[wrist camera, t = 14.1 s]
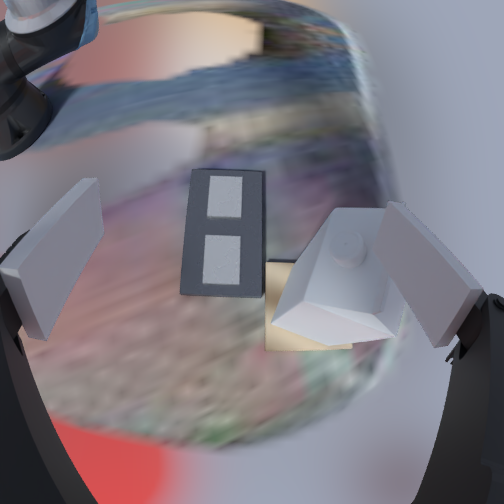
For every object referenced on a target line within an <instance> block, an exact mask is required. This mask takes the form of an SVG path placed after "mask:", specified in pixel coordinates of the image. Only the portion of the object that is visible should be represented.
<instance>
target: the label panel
mask: <svg viewBox="0 0 504 504" xmlns="http://www.w3.org/2000/svg"><path fill="white" fill-rule="evenodd" d="M180 294H181V295H190V296H213V297H241V298H261V297H262V172H254V171H234V170H203V169H192V174H191V181H190V189H189V198H188V206H187V215H186V225H185V235H184V246H183V257H182V269H181V282H180Z"/></svg>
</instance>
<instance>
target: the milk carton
mask: <svg viewBox="0 0 504 504" xmlns="http://www.w3.org/2000/svg"><path fill="white" fill-rule="evenodd" d="M402 204H403V205H404V206H405V204H406V203H405V202H402ZM385 209H386V208H335V209H334V210H333V211H332V212H331V214H330V215H329V216H328V218H327V219H326V221H325V222H324V224H323V225H322V226H321V228H320V229H319V231H318V232H317V233H316V235H315V236H314V238H313V239H312V240H311V242H310V243H309V245H308V246H307V247H306V249H305V250H304V252H303V253H302V254H301V256H300V257H299V258H298V260H297V261H296V263H295V264H294V265H293V267H292V269H291V271H290V274H289V276H288V279H287V282H286V284H285V287H284V290H283V292H282V295H281V297H280V300H279V303H278V305H277V308H276V310H275V313H274V315H273V318H272V321H271V324H272V325H275V326H277V327H280V328H282V329H285V330H287V331H290V332H293V333H295V334H298V335H300V336H303V337H306V338H308V339H311V340H314V341H316V342H319V343H322V344H325V345H327V346H332V345H340V344H349V343H357V342H364V341H371V340H378V339H385V338H391V337H396V336H397V333H398V329H399V325H400V321H401V317H402V313H403V309H404V305H405V301H406V300H405V298H404V297H403V295H402V294H401V292H400V291H399V289H398V287H397V286H396V284H395V283H394V281H393V280H392V278H391V277H390V275H389V274H388V272H387V271H386V269H385V268H384V266H383V265H382V263H381V262H380V260H379V259H378V257H377V256H376V255H375V253H374V252H373V250H372V248H373V245H374V243H375V240H376V237H377V234H378V231H379V228H380V225H381V222H382V219H383V216H384V213H385Z"/></svg>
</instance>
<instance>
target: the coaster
mask: <svg viewBox="0 0 504 504" xmlns="http://www.w3.org/2000/svg"><path fill="white" fill-rule="evenodd" d="M294 264H295V263H275V262H266V264H265V351H310V350H335V349H352V343H349V344H340V345H332V346H327V345H325V344H322V343H319V342H316V341H314V340H311V339H308V338H306V337H303V336H300V335H298V334H295V333H293V332H290V331H287V330H285V329H282V328H280V327H277V326H275V325H272V324H271V321H272V318H273V315H274V313H275V310H276V308H277V305H278V303H279V300H280V297H281V295H282V292H283V290H284V287H285V284H286V282H287V279H288V276H289V274H290V271H291V269H292V267H293V265H294Z"/></svg>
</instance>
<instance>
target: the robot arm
mask: <svg viewBox="0 0 504 504" xmlns="http://www.w3.org/2000/svg"><path fill="white" fill-rule="evenodd" d="M3 1H4V3H5V4H6V6H7V7H8V9H7V12H6V16H5V19H4V20H2V21H1V22H0V161H4V160H8V159H11V158H13V157H15V156H17V155H18V154H20V153H21V152H23V151H24V150H25V149H27V148H28V147H29V146H30V145H31V144H32V143H33V142H34V141H35V140H36V139H37V138H38V137H39V136H40V134H41V133H42V132H43V130H44V129H45V127H46V126H47V124H48V122H49V120H50V117H51V114H52V105H51V102H50V101H49V99H48V97H47V96H46V94H45V93H43V92H42V91H40V90H39V89H38V88H37V87H36V86H34V85H33V84H32V83H30V82H29V81H28V80H27V78H26V75H27V74H29V73H31V72H32V71H34V70H36V69H38V68H40V67H41V66H43V65H45V64H47V63H49V62H51V61H53V60H55V59H57V58H59V57H61V56H63V55H65V54H68V53H70V52H72V51H75V50H78V49H79V48H80V47H81V46H83V45H85V44H87V43H90V42H91V41H93V40H94V39H95V38H96V36H97V34H98V29H99V22H98V12H97V5H96V0H3ZM103 235H104V227H103V219H102V211H101V201H100V191H99V179H98V178H83V179H82V180H81V181H79V182H78V183H77V184H76V185H75V186H74V187H73V188H72V189H71V190H70V191H69V192H68V193H66V194H65V195H64V196H63V197H62V198H61V199H60V200H59V201H58V202H57V203H56V204H55V205H54V206H53V207H52V208H51V209H50V210H49V211H48V212H47V213H46V214H45V215H44V216H43V217H42V218H41V219H40V220H39V221H38V222H37V223H36V224H35V225H34V227H33V228H32V229H31V230H28V231H27V232H25V233H24V234H22V235H21V236H19V237H18V238H17V239H16V241H15V242H14V243H13V244H12V246H10V247H9V248H8V250H7V251H6V253H4V254H3V255H2V257H1V258H0V504H98V503H97V501H96V500H95V498H94V497H93V495H92V494H91V492H90V491H89V489H88V488H87V486H86V485H85V483H84V481H83V480H82V478H81V476H80V475H79V473H78V471H77V470H76V468H75V467H74V465H73V463H72V461H71V459H70V458H69V456H68V454H67V452H66V450H65V448H64V446H63V444H62V442H61V440H60V438H59V436H58V434H57V432H56V430H55V428H54V426H53V424H52V422H51V419H50V417H49V415H48V413H47V410H46V408H45V406H44V403H43V401H42V399H41V396H40V394H39V391H38V388H37V386H36V383H35V380H34V378H33V375H32V372H31V369H30V366H29V363H28V360H27V357H26V354H25V351H24V347H23V344H22V341H21V338H20V337H19V335H18V331H19V329H20V327H21V325H23V327H24V329H25V331H26V333H27V335H28V337H30V338H35V339H40V340H44V341H47V339H48V337H49V335H50V333H51V331H52V328H53V326H54V324H55V322H56V320H57V318H58V316H59V314H60V312H61V310H62V308H63V306H64V304H65V302H66V300H67V298H68V296H69V294H70V292H71V290H72V289H73V287H74V285H75V283H76V281H77V279H78V277H79V276H80V274H81V272H82V270H83V269H84V267H85V265H86V263H87V262H88V260H89V258H90V256H91V255H92V253H93V251H94V250H95V248H96V246H97V245H98V243H99V241H100V240H101V238H102V237H103ZM372 250H373V252H374V253H375V255H376V256H377V257H378V259H379V260H380V262H381V263H382V265H383V266H384V268H385V269H386V271H387V272H388V274H389V275H390V277H391V278H392V280H393V281H394V283H395V284H396V286H397V287H398V289H399V291H400V292H401V294H402V295H403V297H404V298H405V300H406V302H407V303H408V305H409V306H410V308H411V310H412V311H413V313H414V314H415V316H416V318H417V319H418V321H419V323H420V324H421V326H422V328H423V330H424V331H425V333H426V335H427V336H428V338H429V340H430V342H431V343H432V345H433V347H434V348H437V347H443V346H448V345H449V343H450V342H451V340H452V339H453V337H454V336H455V335H456V334H457V336H458V338H459V339H460V340H459V342H458V343H457V344H456V346H455V347H454V348H453V350H452V351H451V353H450V354H449V355H448V357H447V358H446V360H445V361H446V362H448V361H449V359H450V358H453V361H452V362H451V363H450V364H452V370H451V376H450V382H449V387H448V392H447V397H446V402H445V406H444V410H443V415H442V419H441V423H440V426H439V430H438V434H437V438H436V441H435V444H434V448H433V451H432V454H431V457H430V460H429V463H428V466H427V469H426V472H425V475H424V477H423V480H422V483H421V485H420V488H419V491H418V493H417V495H416V497H415V499H414V501H413V502H412V503H411V504H504V298H503V297H501V296H499V295H497V294H492V293H491V294H489V295H487V294H486V293H485V292H484V290H483V287H482V286H481V285H480V284H479V283H478V282H477V280H476V279H475V278H474V277H473V276H472V275H471V274H470V272H468V270H467V269H466V268H465V267H464V266H463V265H462V263H461V262H460V261H459V260H458V259H457V258H456V257H455V256H454V255H453V254H452V252H450V250H449V249H448V248H447V247H446V246H445V245H444V244H443V243H442V242H441V241H440V240H439V239H438V238H437V237H436V236H435V235H434V234H433V233H432V232H431V231H430V230H429V229H428V228H427V227H426V226H425V225H424V224H423V223H422V222H421V221H420V220H419V219H418V218H417V217H416V216H415V215H414V214H413V213H411V212H410V211H409V210H408V209H407V208H406V207H405V206H404V205H403V204H402V203H400V202H394V201H388V203H387V206H386V209H385V213H384V216H383V219H382V222H381V225H380V228H379V231H378V234H377V237H376V240H375V243H374V245H373V248H372Z"/></svg>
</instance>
